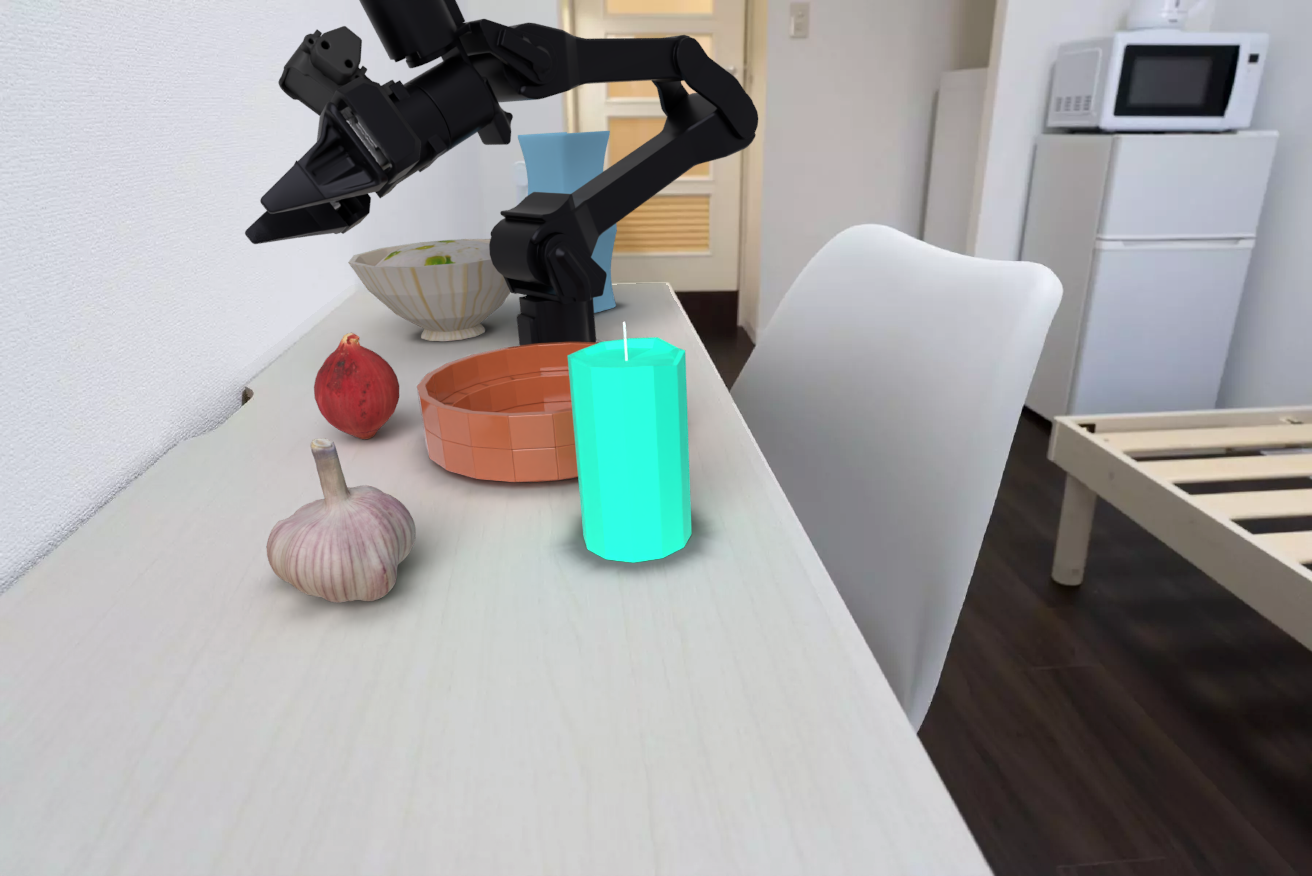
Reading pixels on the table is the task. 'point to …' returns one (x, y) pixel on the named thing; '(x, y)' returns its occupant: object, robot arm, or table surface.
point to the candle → (632, 447)
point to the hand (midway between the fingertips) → (256, 223)
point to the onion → (356, 389)
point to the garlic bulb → (342, 537)
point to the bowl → (436, 285)
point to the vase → (571, 182)
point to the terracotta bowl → (503, 414)
